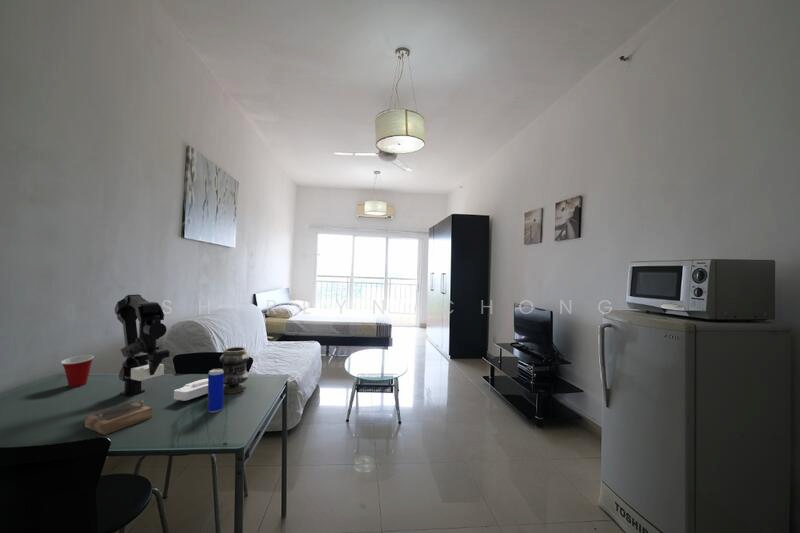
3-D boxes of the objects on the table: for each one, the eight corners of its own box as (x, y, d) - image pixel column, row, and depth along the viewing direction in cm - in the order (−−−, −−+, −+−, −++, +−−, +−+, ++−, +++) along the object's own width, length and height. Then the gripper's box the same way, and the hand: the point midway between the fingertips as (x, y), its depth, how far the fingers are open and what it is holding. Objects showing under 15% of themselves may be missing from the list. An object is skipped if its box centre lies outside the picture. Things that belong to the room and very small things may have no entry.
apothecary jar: (245, 393, 146) (246, 351, 146) (215, 395, 143) (215, 352, 143) (250, 384, 158) (251, 345, 158) (222, 385, 155) (223, 346, 155)
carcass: (84, 426, 114) (85, 410, 114) (132, 411, 127) (132, 396, 127) (104, 434, 109) (104, 418, 109) (151, 417, 122) (152, 402, 122)
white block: (130, 378, 132) (130, 368, 132) (155, 372, 140) (155, 362, 140) (139, 380, 130) (139, 369, 130) (163, 374, 138) (164, 363, 138)
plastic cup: (53, 387, 148) (54, 360, 148) (82, 379, 159) (83, 354, 159) (71, 390, 145) (71, 362, 145) (99, 382, 156) (100, 356, 156)
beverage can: (211, 407, 131) (212, 368, 131) (225, 407, 132) (226, 368, 132) (204, 413, 126) (205, 372, 126) (219, 412, 127) (220, 372, 127)
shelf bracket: (211, 383, 160) (233, 386, 156) (160, 399, 136) (184, 403, 133) (212, 371, 160) (234, 374, 157) (161, 385, 137) (185, 389, 133)
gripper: (110, 335, 131) (109, 376, 131) (140, 340, 124) (139, 383, 124) (142, 331, 141) (141, 368, 141) (171, 335, 134) (170, 375, 134)
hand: (147, 374), depth 135 cm, fingers closed on white block, 5 cm apart
